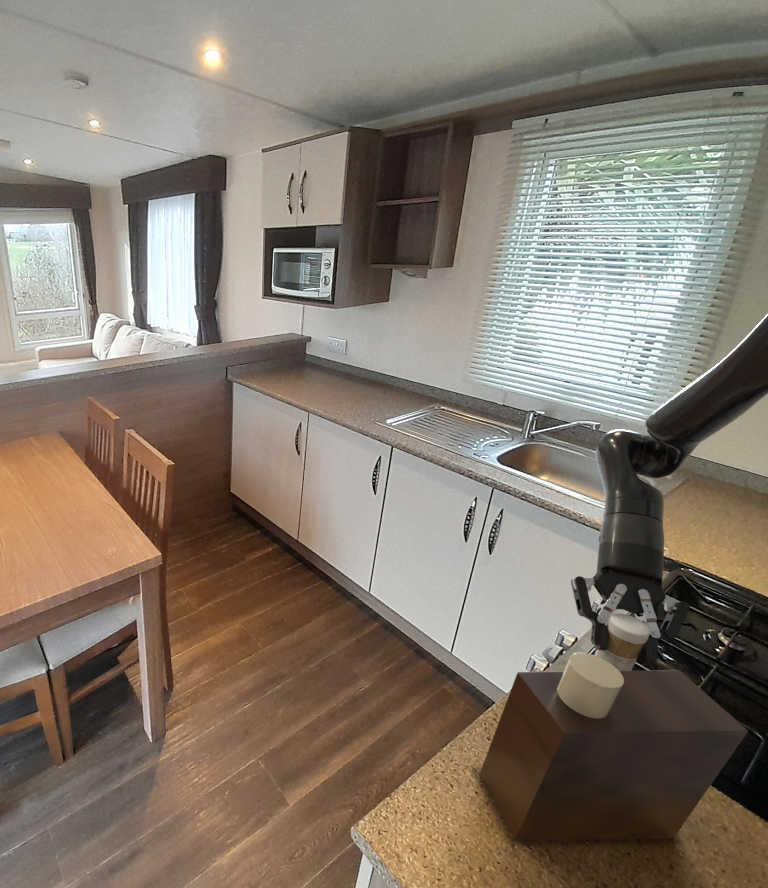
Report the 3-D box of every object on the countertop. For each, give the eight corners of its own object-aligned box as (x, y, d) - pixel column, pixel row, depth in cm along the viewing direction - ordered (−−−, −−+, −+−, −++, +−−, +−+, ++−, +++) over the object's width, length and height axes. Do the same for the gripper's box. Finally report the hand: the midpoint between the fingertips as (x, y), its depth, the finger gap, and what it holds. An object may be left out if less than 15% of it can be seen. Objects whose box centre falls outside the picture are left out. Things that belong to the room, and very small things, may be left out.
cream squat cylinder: (608, 697, 56) (623, 666, 54) (608, 727, 53) (624, 695, 51) (558, 675, 59) (570, 645, 57) (555, 702, 56) (568, 672, 54)
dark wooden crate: (619, 775, 68) (678, 669, 59) (672, 840, 61) (749, 731, 52) (478, 776, 68) (517, 671, 60) (513, 842, 61) (564, 733, 52)
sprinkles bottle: (603, 674, 79) (631, 611, 73) (627, 698, 75) (660, 633, 69) (576, 675, 79) (602, 612, 73) (599, 700, 75) (629, 635, 69)
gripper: (582, 530, 76) (571, 638, 72) (705, 555, 70) (702, 676, 65) (567, 540, 83) (556, 640, 78) (678, 564, 76) (674, 675, 71)
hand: (622, 655), depth 72 cm, fingers closed on sprinkles bottle, 4 cm apart
